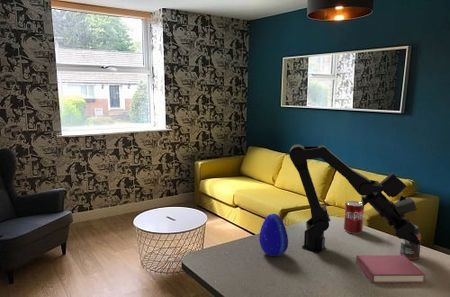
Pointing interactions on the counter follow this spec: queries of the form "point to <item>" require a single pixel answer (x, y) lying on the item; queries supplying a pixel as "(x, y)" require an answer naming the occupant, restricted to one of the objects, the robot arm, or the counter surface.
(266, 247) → the ornament
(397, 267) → the hardcover book
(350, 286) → the counter surface
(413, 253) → the supplement bottle
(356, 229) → the soda can
